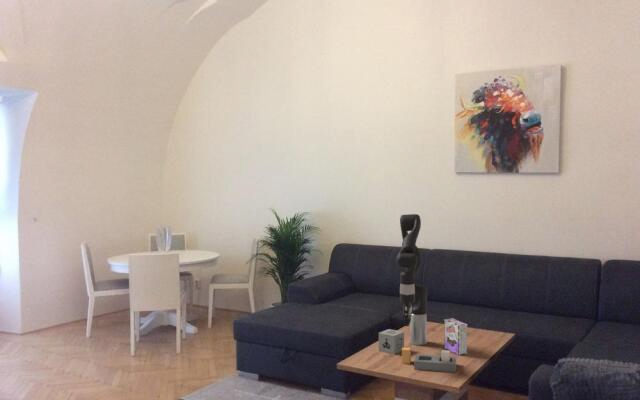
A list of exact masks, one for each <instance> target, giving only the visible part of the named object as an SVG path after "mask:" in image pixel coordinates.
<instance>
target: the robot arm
mask: <svg viewBox="0 0 640 400" xmlns="http://www.w3.org/2000/svg"><path fill="white" fill-rule="evenodd" d="M421 222H422V219H421V216H420V214H417V213H412V214H410V213H409V214H402V215H400V217H399V225H400V226H399V227H400V231H401V238H402V242H401V249H400V251H399V253H398V254H397V256H396V260H395V261H396V265H397V266H398V267H399V268H405V271H402V272H400V273H399V274H400V275H399V280H400V282H399V283H400V286H399V302H401V303H404V304H403V306H402V309H403V320H404V322H403V323H404V327H409V326H410V327H409V329H410V330H409V333H410V334H409V335H410V336H409V337H410V340H409V341H410V344H411V345H415V346H424V345H427V342H428V340H427V339H428V338H427V333H428V330H427V327H428V325H427V310H428V309H427V308H428V288H427V287H426V285H420V284H415V277H416V275H417V273H418V272H419V270H420V268H421V266H422V254H421V251H420V250H419V248H418V246H417V244H416V243H417V241H418V238H419V234H420V230H421V225H422V223H421ZM414 302H418V305H415V306H413V305H412V303H414Z"/></svg>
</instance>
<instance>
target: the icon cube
mask: <svg viewBox="0 0 640 400" xmlns="http://www.w3.org/2000/svg"><path fill="white" fill-rule="evenodd" d="M403 347H404V348H405V331H401V330H396V329H390V328H388V329H385V330H383V331H380V332H378V351H379V352H381V353H385V352H386V353H385V354H391V355H396V354H398V353H402V348H403Z"/></svg>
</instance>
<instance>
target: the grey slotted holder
mask: <svg viewBox="0 0 640 400" xmlns="http://www.w3.org/2000/svg"><path fill="white" fill-rule="evenodd" d="M413 368H414V369H413V370H417V371H418V370H419V371H421V370H422V371H433V372H447V373H449V372H450V373H456V371H457V356H455V355H451V351H449V350H447V349H442V350H441V352H440V355H439V354H436V355H435V354H425V353H424V354H423V353H421V354H420V353H416V355H415V358H414V361H413Z"/></svg>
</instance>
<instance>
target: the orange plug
mask: <svg viewBox="0 0 640 400" xmlns="http://www.w3.org/2000/svg"><path fill="white" fill-rule="evenodd" d="M411 352H412V351H411V347H405V346H404V347H403V348H402V351H401V364H408V365H409V364H411V361H412V360H411V359H412V358H411V354H412V353H411Z"/></svg>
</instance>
